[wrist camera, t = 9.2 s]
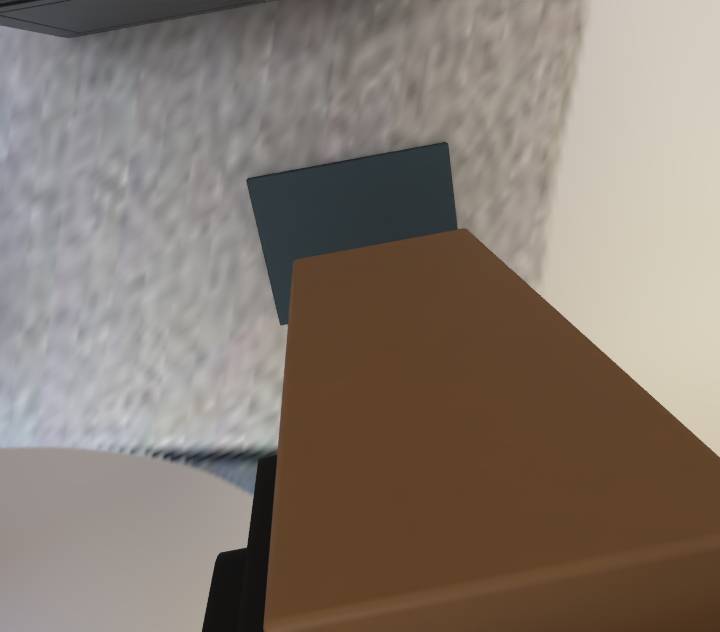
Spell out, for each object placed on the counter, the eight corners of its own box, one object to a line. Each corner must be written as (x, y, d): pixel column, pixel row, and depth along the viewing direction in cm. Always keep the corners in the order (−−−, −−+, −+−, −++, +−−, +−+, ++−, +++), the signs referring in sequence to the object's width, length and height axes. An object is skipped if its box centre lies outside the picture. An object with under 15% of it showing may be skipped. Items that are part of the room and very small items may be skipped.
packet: (466, 226, 14) (803, 525, 4) (490, 449, 16) (748, 965, 7) (292, 259, 14) (257, 630, 4) (339, 477, 16) (385, 1038, 7)
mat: (445, 141, 27) (448, 143, 27) (462, 288, 30) (464, 291, 29) (247, 178, 27) (246, 180, 27) (280, 321, 30) (280, 325, 29)
